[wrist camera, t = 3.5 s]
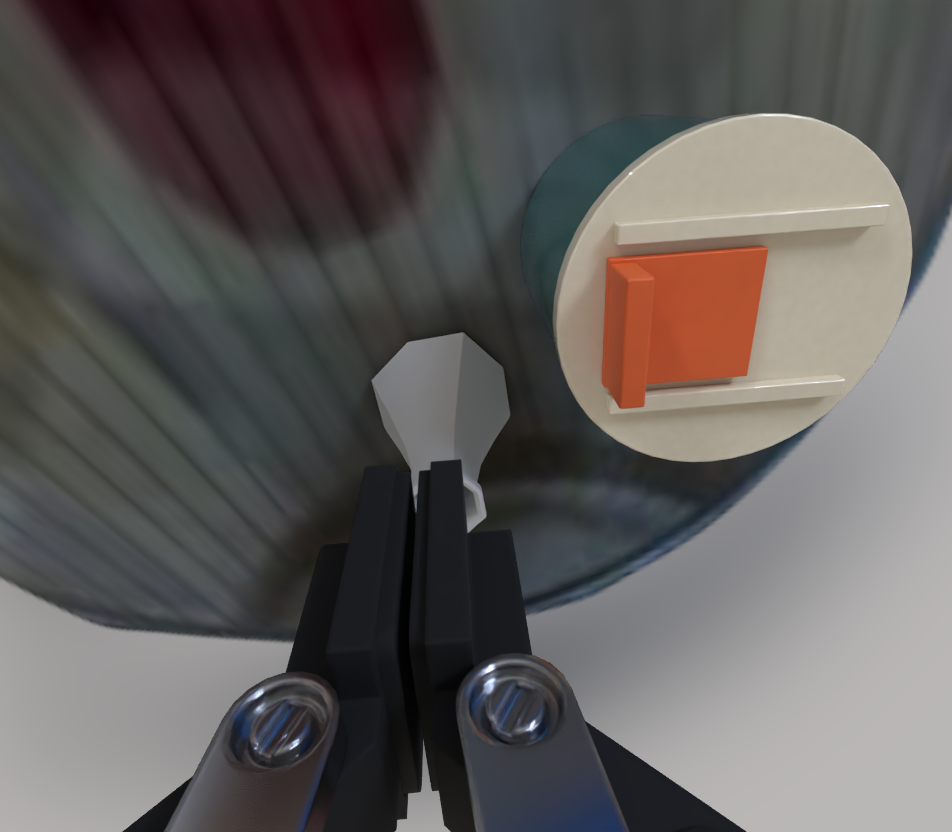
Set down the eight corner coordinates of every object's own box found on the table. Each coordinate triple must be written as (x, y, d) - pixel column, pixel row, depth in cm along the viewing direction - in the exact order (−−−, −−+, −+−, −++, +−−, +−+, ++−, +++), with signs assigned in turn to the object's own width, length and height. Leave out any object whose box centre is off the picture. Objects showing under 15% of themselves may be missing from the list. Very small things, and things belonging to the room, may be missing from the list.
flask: (347, 372, 31) (312, 479, 22) (470, 306, 29) (485, 393, 21) (418, 473, 34) (411, 603, 25) (531, 418, 33) (567, 534, 24)
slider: (600, 383, 20) (619, 413, 18) (606, 256, 18) (626, 275, 16) (742, 371, 20) (775, 400, 18) (762, 244, 18) (802, 261, 16)
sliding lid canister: (519, 361, 31) (558, 483, 21) (512, 119, 26) (560, 128, 16) (733, 344, 31) (872, 456, 21) (770, 100, 26) (978, 98, 16)
